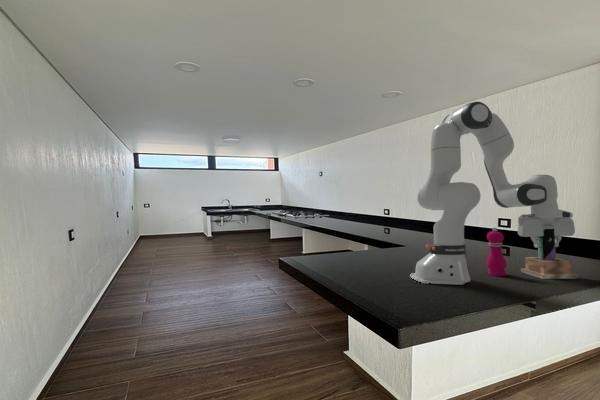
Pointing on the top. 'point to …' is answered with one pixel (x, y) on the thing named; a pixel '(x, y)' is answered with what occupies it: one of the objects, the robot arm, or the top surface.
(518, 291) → the top surface
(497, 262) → the pepper mill
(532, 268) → the can holder
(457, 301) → the top surface
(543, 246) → the spray can
